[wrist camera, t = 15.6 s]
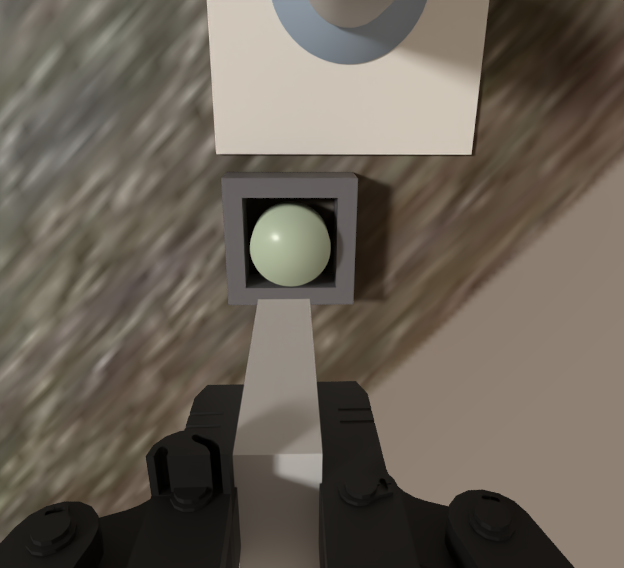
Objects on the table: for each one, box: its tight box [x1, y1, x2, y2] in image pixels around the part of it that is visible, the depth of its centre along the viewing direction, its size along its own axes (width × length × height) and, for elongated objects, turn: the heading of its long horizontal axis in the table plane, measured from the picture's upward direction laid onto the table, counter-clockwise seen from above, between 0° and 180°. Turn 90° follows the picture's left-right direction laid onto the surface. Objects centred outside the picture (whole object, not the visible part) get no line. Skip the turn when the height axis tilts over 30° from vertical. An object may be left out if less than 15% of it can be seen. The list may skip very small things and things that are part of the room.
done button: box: [250, 201, 331, 286], centre depth 26 cm, size 4×4×2 cm
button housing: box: [221, 172, 358, 305], centre depth 27 cm, size 7×7×2 cm
